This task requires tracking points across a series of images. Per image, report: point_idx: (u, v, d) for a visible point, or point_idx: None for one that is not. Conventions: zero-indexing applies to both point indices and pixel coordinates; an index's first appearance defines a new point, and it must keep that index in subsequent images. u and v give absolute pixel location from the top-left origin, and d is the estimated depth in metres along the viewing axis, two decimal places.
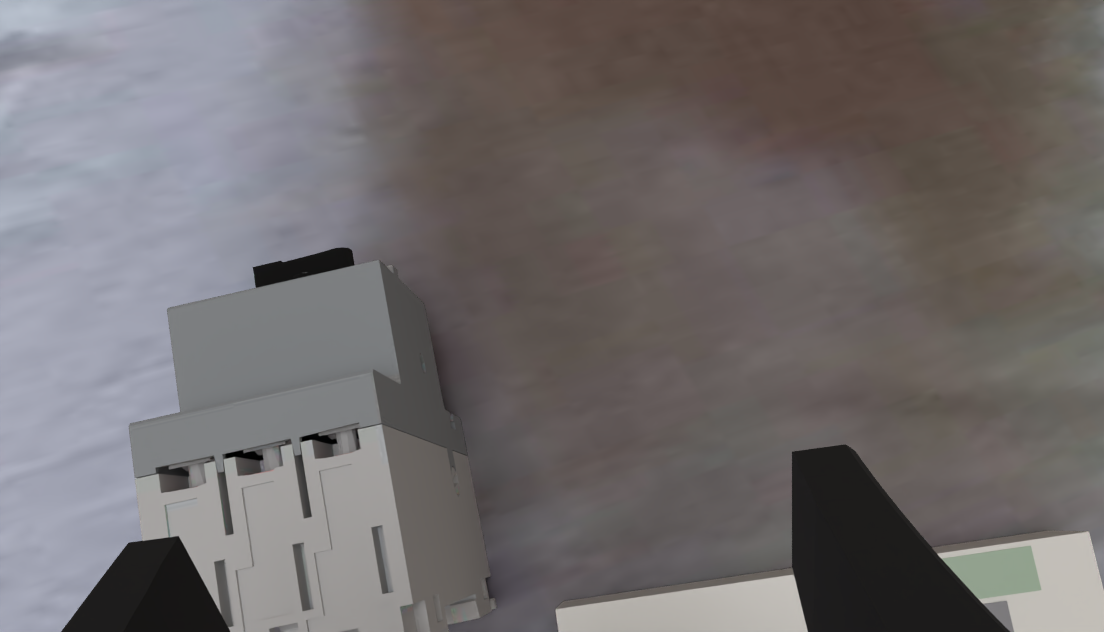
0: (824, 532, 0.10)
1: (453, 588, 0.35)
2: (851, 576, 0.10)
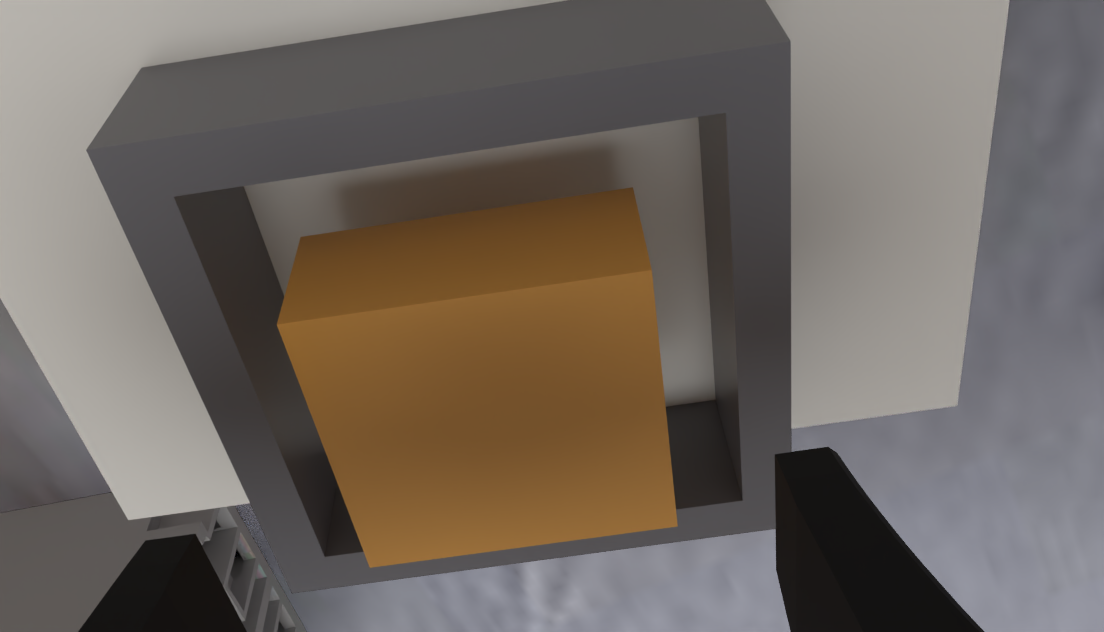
0: (805, 535, 0.10)
1: None
2: (831, 579, 0.10)
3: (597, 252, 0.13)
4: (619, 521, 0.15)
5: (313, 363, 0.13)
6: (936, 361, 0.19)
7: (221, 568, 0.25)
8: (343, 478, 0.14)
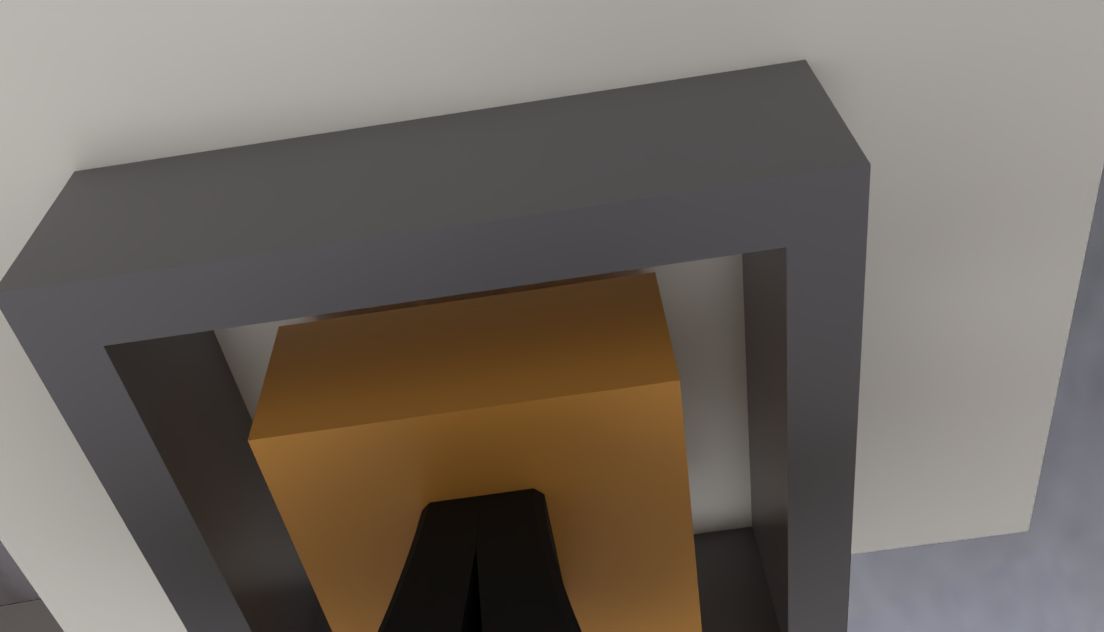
0: None
1: None
2: None
3: (614, 355, 0.11)
4: None
5: (291, 480, 0.11)
6: (1007, 485, 0.16)
7: None
8: (327, 599, 0.12)
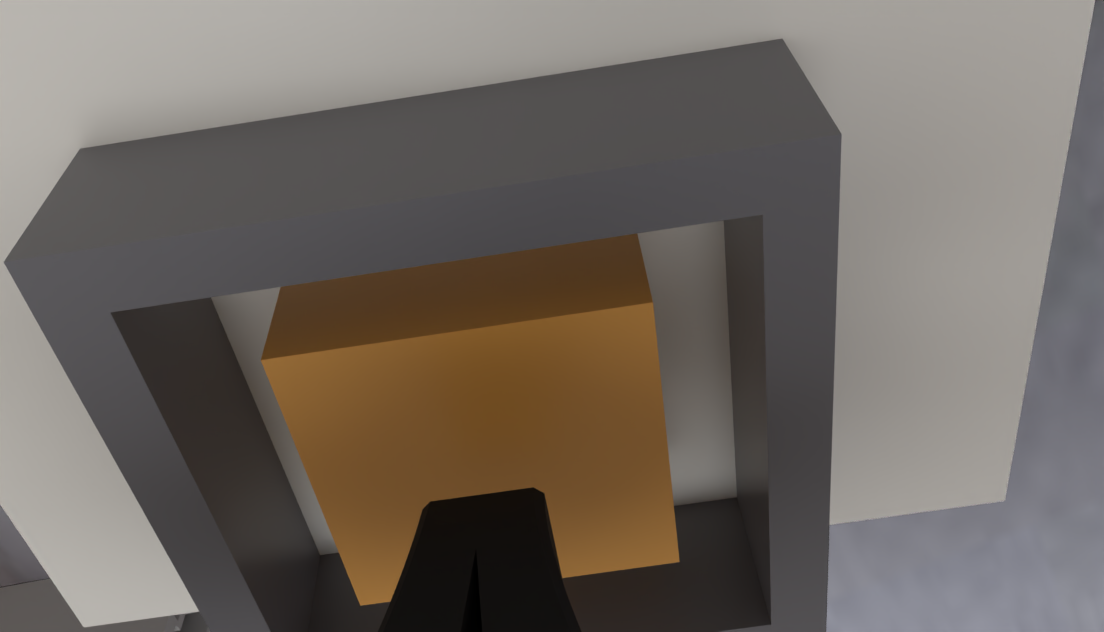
0: None
1: None
2: None
3: (594, 283, 0.12)
4: (619, 557, 0.14)
5: (300, 399, 0.12)
6: (983, 455, 0.17)
7: None
8: (332, 515, 0.14)
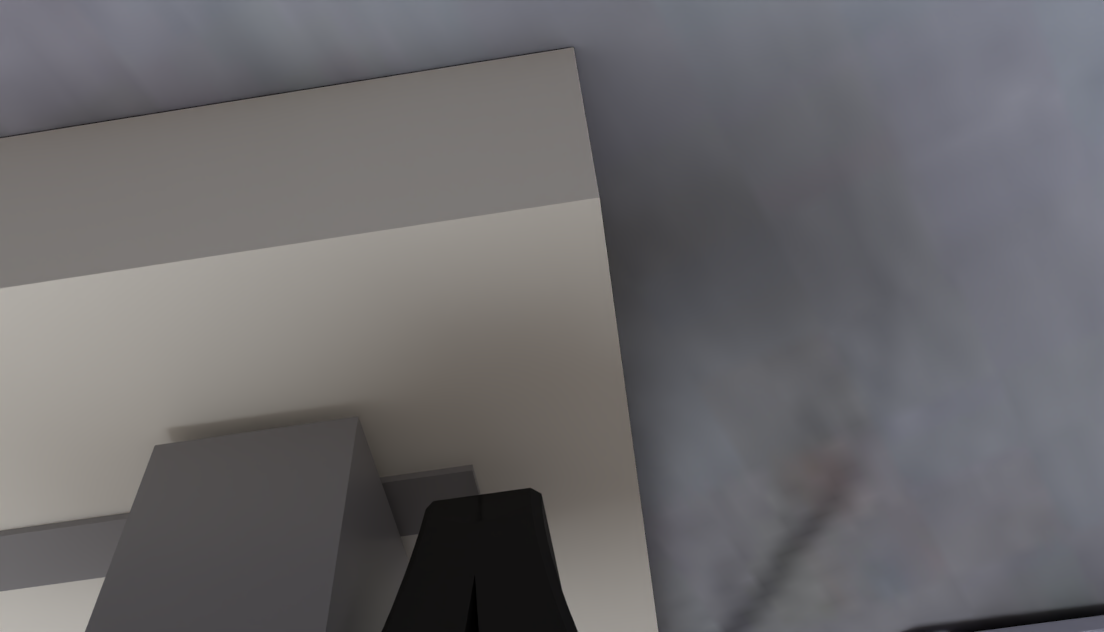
0: None
1: None
2: None
3: None
4: None
5: None
6: None
7: None
8: None
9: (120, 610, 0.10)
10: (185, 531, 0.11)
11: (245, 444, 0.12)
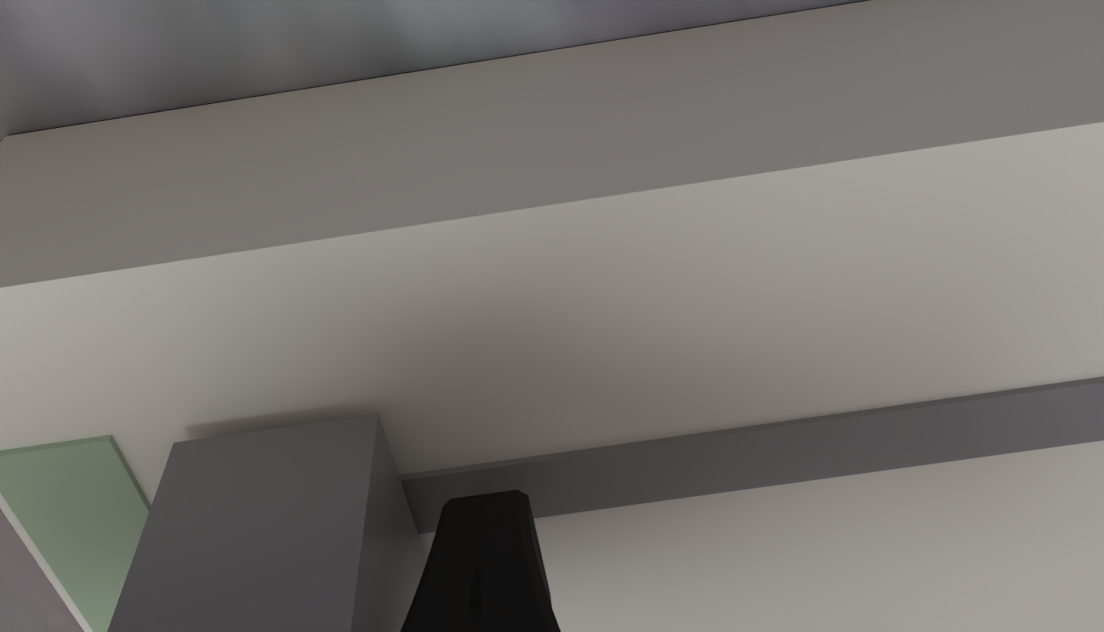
0: None
1: None
2: None
3: None
4: None
5: None
6: None
7: None
8: None
9: (143, 607, 0.10)
10: (207, 528, 0.11)
11: (264, 442, 0.12)
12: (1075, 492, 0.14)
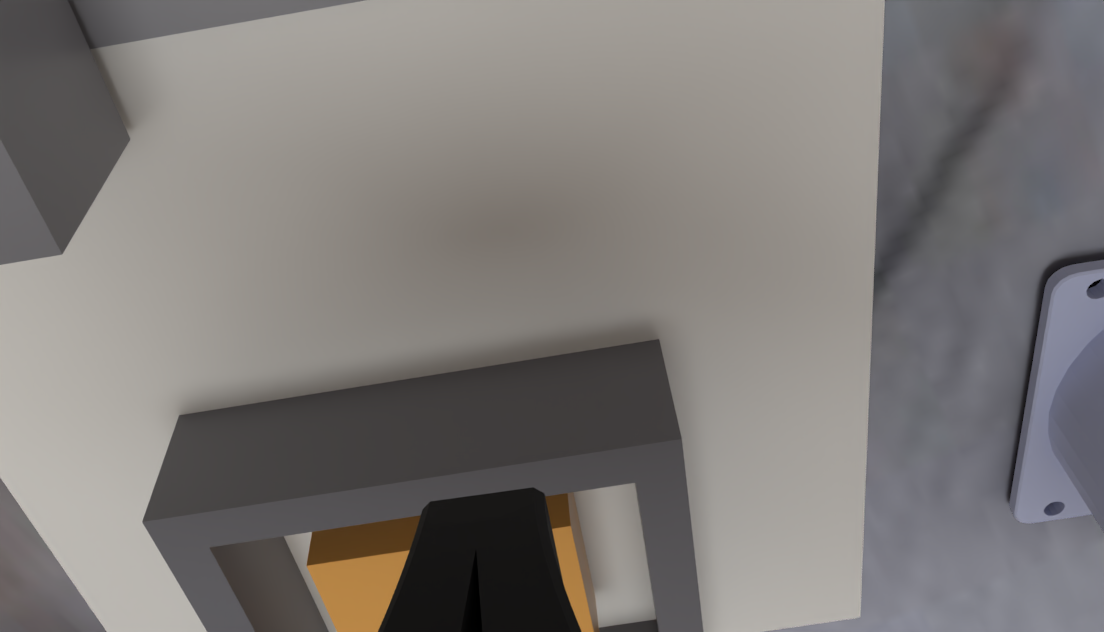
0: None
1: None
2: None
3: None
4: None
5: (333, 587, 0.18)
6: (839, 587, 0.22)
7: None
8: None
9: None
10: None
11: None
12: (710, 11, 0.14)
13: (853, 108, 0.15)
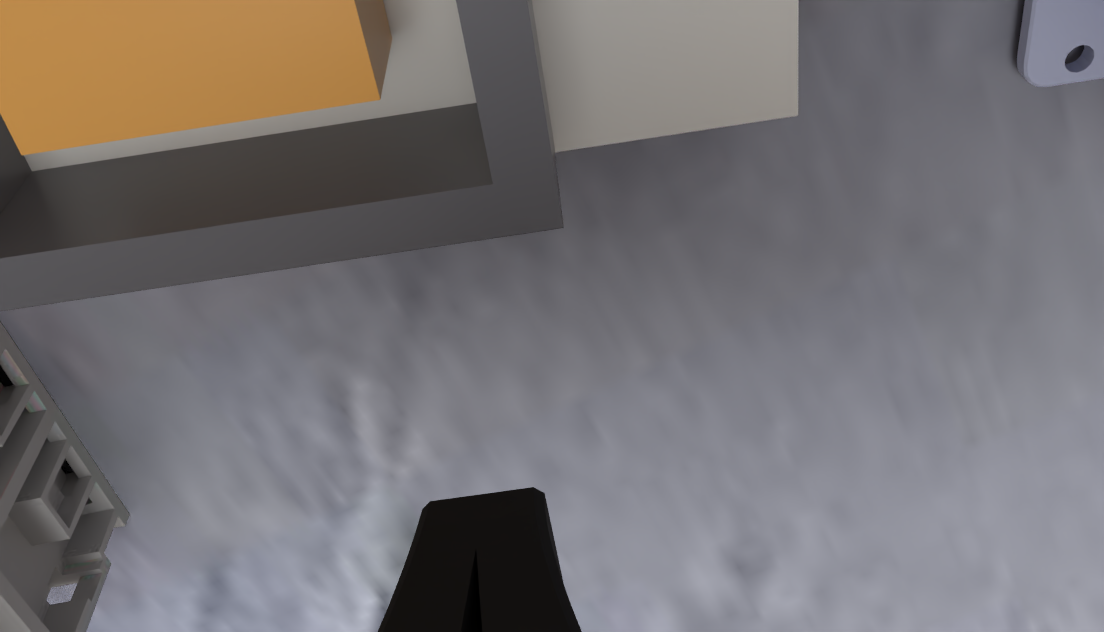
0: None
1: None
2: None
3: None
4: (308, 89, 0.13)
5: None
6: (764, 46, 0.15)
7: None
8: None
9: None
10: None
11: None
12: None
13: None
